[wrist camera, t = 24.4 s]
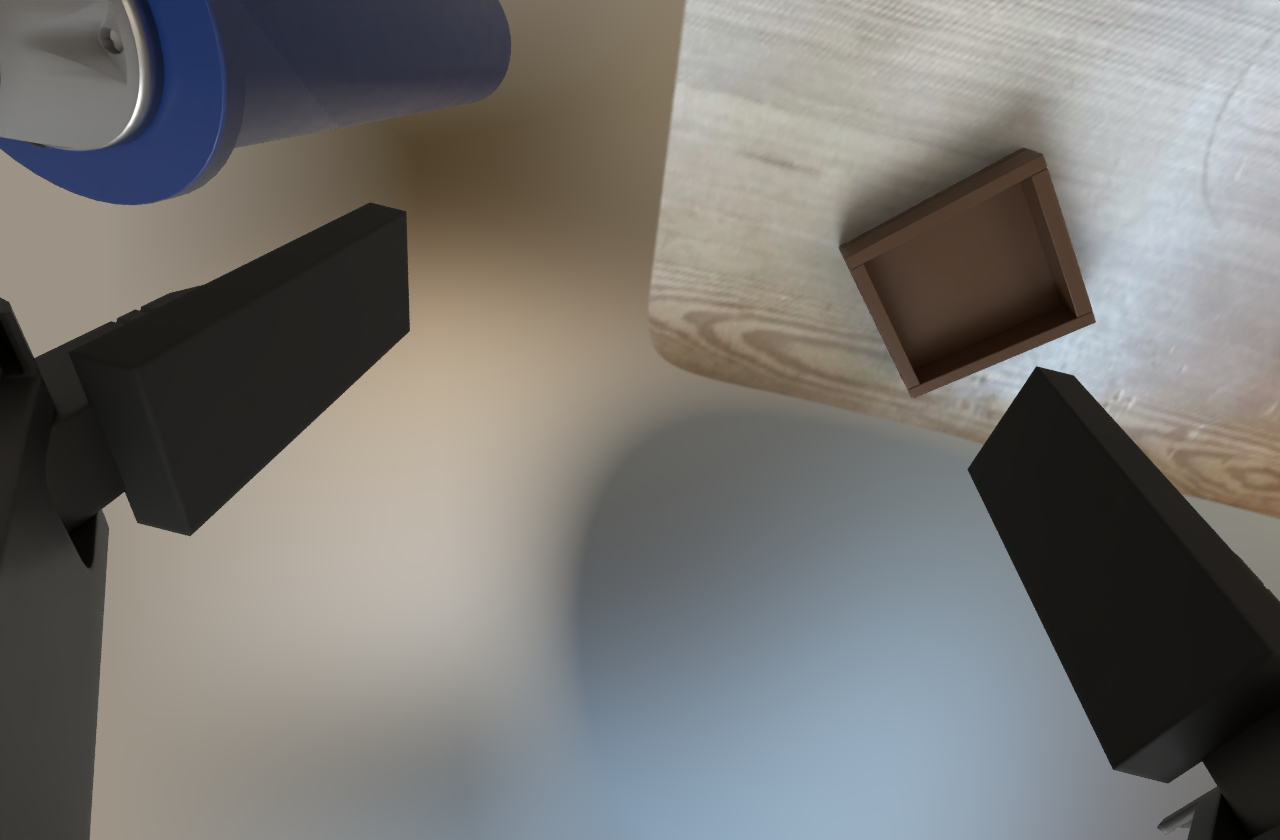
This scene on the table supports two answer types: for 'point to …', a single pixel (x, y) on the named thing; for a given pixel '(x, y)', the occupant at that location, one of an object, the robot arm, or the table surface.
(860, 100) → the table surface
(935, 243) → the tray
